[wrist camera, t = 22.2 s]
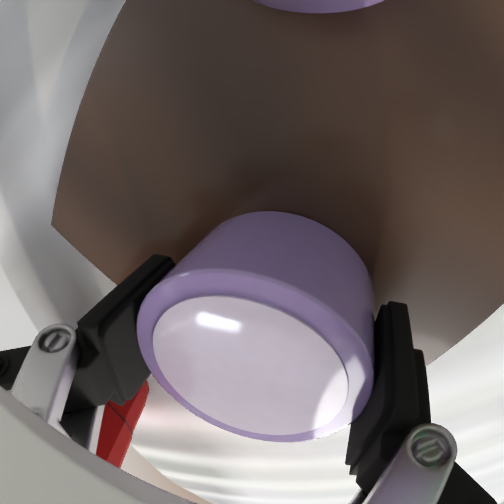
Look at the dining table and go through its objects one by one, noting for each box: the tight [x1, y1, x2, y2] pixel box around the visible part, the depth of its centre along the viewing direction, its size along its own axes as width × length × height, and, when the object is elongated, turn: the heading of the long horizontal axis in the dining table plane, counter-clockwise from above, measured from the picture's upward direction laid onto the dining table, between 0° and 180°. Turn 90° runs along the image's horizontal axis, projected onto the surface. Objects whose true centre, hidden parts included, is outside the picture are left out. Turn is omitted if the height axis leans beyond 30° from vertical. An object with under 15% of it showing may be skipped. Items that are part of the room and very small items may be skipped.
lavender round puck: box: [136, 211, 375, 442], centre depth 9 cm, size 6×6×4 cm
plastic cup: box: [96, 381, 149, 469], centre depth 13 cm, size 11×11×12 cm
